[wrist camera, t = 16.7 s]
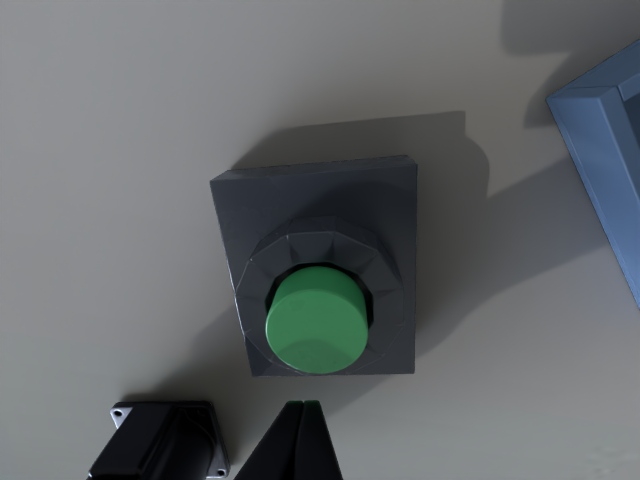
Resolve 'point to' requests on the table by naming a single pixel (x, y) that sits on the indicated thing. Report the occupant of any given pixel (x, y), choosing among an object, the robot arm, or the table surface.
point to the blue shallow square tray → (608, 149)
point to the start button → (318, 320)
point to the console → (325, 248)
